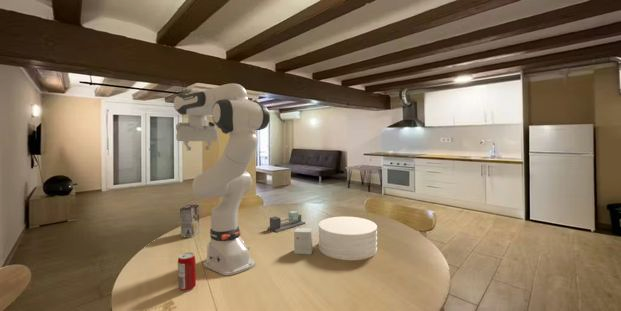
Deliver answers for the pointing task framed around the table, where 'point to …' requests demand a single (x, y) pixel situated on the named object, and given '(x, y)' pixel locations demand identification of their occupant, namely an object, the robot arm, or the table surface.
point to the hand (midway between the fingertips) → (198, 150)
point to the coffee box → (189, 220)
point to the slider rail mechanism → (278, 226)
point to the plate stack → (348, 238)
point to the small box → (303, 241)
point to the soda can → (186, 271)
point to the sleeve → (293, 216)
